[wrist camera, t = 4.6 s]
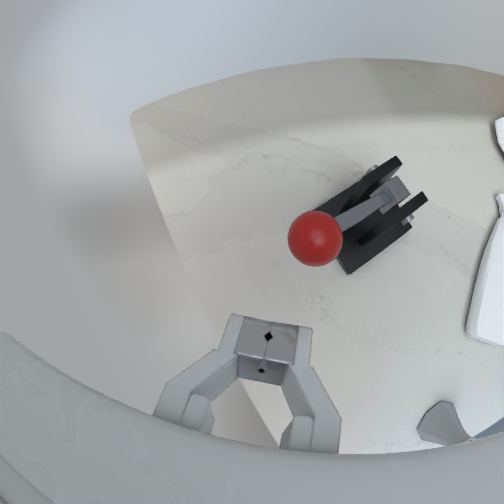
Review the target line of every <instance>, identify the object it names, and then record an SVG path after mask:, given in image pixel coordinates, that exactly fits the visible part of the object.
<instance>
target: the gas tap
mask: <svg viewBox="0 0 504 504" xmlns="http://www.w3.org/2000/svg"><path fill="white" fill-rule="evenodd" d="M401 165H402V162H401V161H400V160H399V159H398V157H397V156H394V157H393V158H391V159H390V160H388V161H387V162H385V163H383V164H382V165H380V166H379V167H378V166H377V165H375V166H373V167H371V168H370V169H369V170H368V171H367V172H366V175H364V176H363V177H362V179H361V180H360V181H358V182H357V183H355V184H354V185H352V186H351V187H349V188H348V189H346V190H344V191H343V192H341V193H340V194H338V195H337V196H335V197H333V198H332V199H330V200H329V201H327V202H326V203H324V204H323V205H321V206H319V207H318V208H316V209H315V210H313V211H321V212H325V213H327V214H329V215H331V216H332V217H333V218H335V217H337V216H338V215H340V214H342V213H344V212H346V211H348V210H349V209H351V208H353V207H355V206H357V205H359V204H361V203H362V202H364V201H366V200H368V199H370V198H371V197H370V196H369V195H370V194H371V193H373V192H374V191H375V190H376V189H377V188H378V187H379V186H380V185H382V184H383V183H384V182H385V181H387V180H389V179H390V178H391V177H392V176H393V175H394V173H395V172H396V171H397V170H398V169H399V168H400V166H401ZM427 201H428V199H427V197H426V196H425V194H424V193H423V191H421V192H420V193H419V194H418V195H416V196H415V197H414V198H412V199H411V200H410V201H408V202H407V203H406V204H404V205H403V206H402V207H400V208H399V206H398V205H396V206H395V207H394V208H392V209H391V210H389V211H388V212H387V213H385V214H384V215H382V213H381V212H380V210H378V211H376V212H374V213H373V214H371V215H370V216H368V217H367V218H365V219H363V220H362V221H360V222H359V223H357V224H355V225H354V226H352V227H351V228H349V229H347V230H346V231H344V232H343V233H342V235H343V243H342V247H341V250H340V252H339V254H338V255H337V256H336V258H337V260H338V261H339V263H340V264H341V266H342V267H343V269H344V271H345V272H346V274H347V275H349V274H351V273H352V272H354V271H355V270H357V269H358V268H359V267H361V266H362V265H364V264H365V263H366V262H368V261H369V260H370V259H372V258H373V257H374V256H376V255H377V254H379V253H380V252H381V251H383V250H384V249H385V248H387V247H388V246H389V245H390V244H392V243H393V242H394V241H396V240H397V239H398V238H400V237H401V236H402V235H403V234H405V233H406V232H407V231H408V230H410V229H411V228H412V226H411V224H410V223H409V221H411V220H412V219H413V218H414V216H413V215H412V213H413V212H414V211H415V210H417V209H418V208H419V207H420V206H422V205H423V204H424V203H425V202H427Z"/></svg>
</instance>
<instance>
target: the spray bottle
mask: <svg viewBox="0 0 504 504" xmlns="http://www.w3.org/2000/svg"><path fill="white" fill-rule="evenodd" d="M495 198H496V200H497V202H498V205H499V213H500V218H498V219H497V222H496V224H495V227H494V229H493V231H492V234H491V236H490V238H489V241H488V243H487V246H486V248H485V250H484V254H483V257H482V260H481V264H480V267H479V271H478V275H477V279H476V283H475V287H474V292H473V297H472V301H471V306H470V310H469V314H468V319H467V324H466V333H467V335H468V336H469V337H472V338H474V339H477V340H479V341H481V342H484V343H486V344H490V345H494V346H502V345H503V344H504V193H503V194H499V195H497V196H495Z"/></svg>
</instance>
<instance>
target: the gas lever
mask: <svg viewBox="0 0 504 504" xmlns="http://www.w3.org/2000/svg"><path fill="white" fill-rule="evenodd" d="M409 195H410V193H409V191H408V190H407V188H406V187H405V185H404V184H403V183H402V181H401V180H400V178H399V177H398V176H395V177H393V178H391V179H389V180H387V181H385V182H384V183H383V184H382V185H380V186H379V187H378V188H377V189H376V190H375V191H374V192H373V193H371V194H370V195H369V196H370V197H371V198H370V199H368V200H366V201H364V202H362V203H361V204H359V205H357V206H355V207H353V208H351V209H349V210H348V211H346V212H344V213H342V214H340V215H338V216H337V217H335V218H333V217H332V216H331V215H329V214H327V213H325V212H321V211H309V212H306V213H303V214H302V215H300V216H298V217H297V218H296V219H295V220H294V221H293V223H292V224H291V226H290V229H289V232H288V245H289V248H290V251H291V253H292V254H293V256H294V257H295V258H296V259H297V260H298V261H300V262H301V263H303V264H305V265H308V266H313V267H316V266H323V265H326V264H328V263H330V262H331V261H332V260H334V259H335V258H336V256H337V255H338V254H339V252H340V250H341V247H342V243H343V235H342V233H343V232H344V231H346V230H347V229H349V228H351V227H352V226H354V225H355V224H357V223H359V222H360V221H362V220H363V219H365V218H367V217H368V216H370V215H371V214H373V213H374V212H376V211H378V210H380V212H381V213H382V215H384V214H385V213H387V212H388V211H389V210H391V209H392V208H394V207H395V206H396V205H398V204H399V203H400V202H402V201H403V200H404V199H406V198H407V197H408V196H409Z"/></svg>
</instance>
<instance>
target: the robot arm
mask: <svg viewBox="0 0 504 504" xmlns="http://www.w3.org/2000/svg"><path fill="white" fill-rule="evenodd" d="M312 334H313V330H312V328H309V327H302V326H298V325H292V324H285V323H279V322H273V321H272V322H270V321H266V320H261V319H256V318H252V317H247V316H243V315H238V314H233V313H232V314H231V315H230V317H229V320H228V323H227V325H226V328H225V331H224V334H223V337H222V340H221V343H220V346H219V349H218V350H217V349H213V350H212V351H211V352H209V353H208V354H207V355H205V356H204V357H202V358H201V359H200V360H199V361H197V362H196V363H194V364H193V365H191V366H190V367H189V368H187V369H186V370H184V371H183V372H182V373H180V374H179V375H177V376H176V377H174V378H173V379H172V380H170V381H169V382H167V383H166V385H165V387H164V389H163V392H162V394H161V396H160V398H159V401H158V403H157V405H156V408H155V410H154V413H153V415H149V414H147V413H144V412H141V411H139V410H137V409H135V408H132V407H130V406H128V405H125V404H123V403H121V402H119V401H117V400H114V399H112V398H110V397H108V396H106V395H104V394H102V393H100V392H98V391H96V390H94V389H92V388H90V387H89V386H87V385H85V384H83V383H81V382H79V381H78V380H76V379H74V378H72V377H70V376H69V375H67V374H66V373H64V372H62V371H60V370H59V369H58V368H56V367H54V366H53V365H51V364H50V363H48V362H46V361H45V360H44V359H42V358H41V357H39V356H38V355H36V354H35V353H33V352H32V351H31V350H29V349H28V348H26V347H25V346H24V345H22V344H21V343H20V342H18V341H17V340H16V339H15V338H13V337H12V336H11V335H9V334H8V333H5V332H2V333H0V504H504V431H503V432H500V433H497V434H494V435H491V436H487V437H484V438H480V439H476V440H472V441H468V442H464V443H459V444H455V445H450V446H444V447H439V448H433V449H426V450H418V451H410V452H399V453H384V454H338V451H339V442H340V432H341V420H342V419H341V417H340V415H339V413H338V411H337V410H336V408H335V406H334V404H333V402H332V401H331V399H330V397H329V395H328V393H327V392H326V390H325V388H324V386H323V384H322V383H321V381H320V379H319V377H318V375H317V374H316V372H315V370H314V368H312V367H309V366H310V356H311V345H312ZM237 377H239V378H244V379H249V380H255V381H260V382H265V383H270V384H275V385H280V386H281V388H282V390H283V393H284V395H285V398H286V400H287V403H288V405H289V408H290V410H291V412H292V415H293V417H294V418H293V420H292V421H291V423H290V424H289V425H288V427H287V428H286V429H285V431H284V432H283V434H282V437H281V442H280V447H279V449H277V448H271V447H265V446H259V445H254V444H248V443H243V442H239V441H235V440H230V439H226V438H221V437H217V436H214V435H211V431H212V427H213V424H214V421H215V420H214V417H213V413H212V408H211V404H210V403H211V402H212V401H213V400H214V399H215V398H216V397H217V396H219V395H220V394H221V393H222V392H223V391H224V390H225V389H226V388H228V387H229V386H230V385H231V384H232V383H233V382H234V381H235V380H236V379H237Z"/></svg>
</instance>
